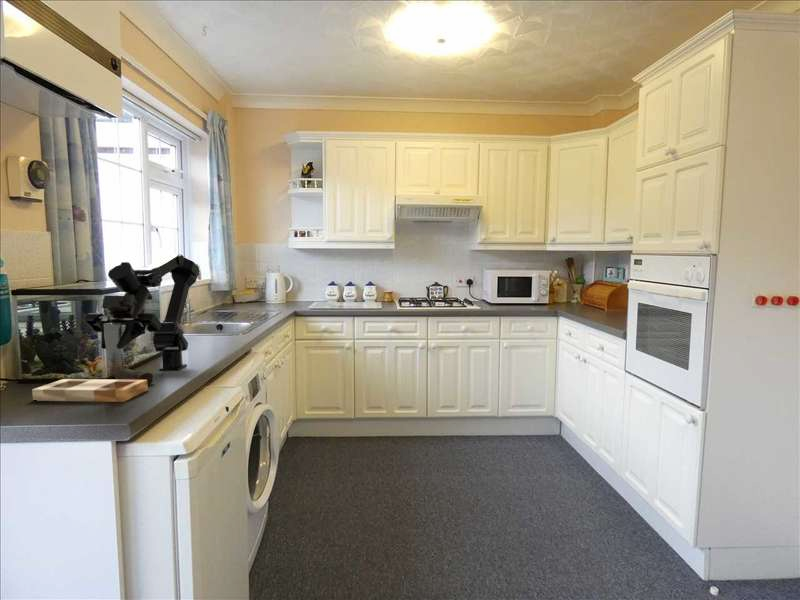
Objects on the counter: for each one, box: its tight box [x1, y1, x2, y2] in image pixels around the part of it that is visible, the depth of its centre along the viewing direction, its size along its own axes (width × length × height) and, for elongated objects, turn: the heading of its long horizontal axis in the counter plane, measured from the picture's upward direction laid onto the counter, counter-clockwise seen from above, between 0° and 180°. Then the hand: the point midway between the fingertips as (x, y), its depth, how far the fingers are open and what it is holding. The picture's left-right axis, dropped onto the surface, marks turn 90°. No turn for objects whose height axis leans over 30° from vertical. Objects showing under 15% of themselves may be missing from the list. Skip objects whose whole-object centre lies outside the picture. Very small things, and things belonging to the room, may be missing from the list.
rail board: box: [31, 378, 149, 403], centre depth 119 cm, size 10×25×3 cm, turn 87°
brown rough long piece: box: [112, 364, 154, 386], centre depth 133 cm, size 19×4×5 cm, turn 57°
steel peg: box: [103, 322, 126, 374], centre depth 117 cm, size 4×4×13 cm
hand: (110, 348), depth 116 cm, fingers closed on steel peg, 4 cm apart
